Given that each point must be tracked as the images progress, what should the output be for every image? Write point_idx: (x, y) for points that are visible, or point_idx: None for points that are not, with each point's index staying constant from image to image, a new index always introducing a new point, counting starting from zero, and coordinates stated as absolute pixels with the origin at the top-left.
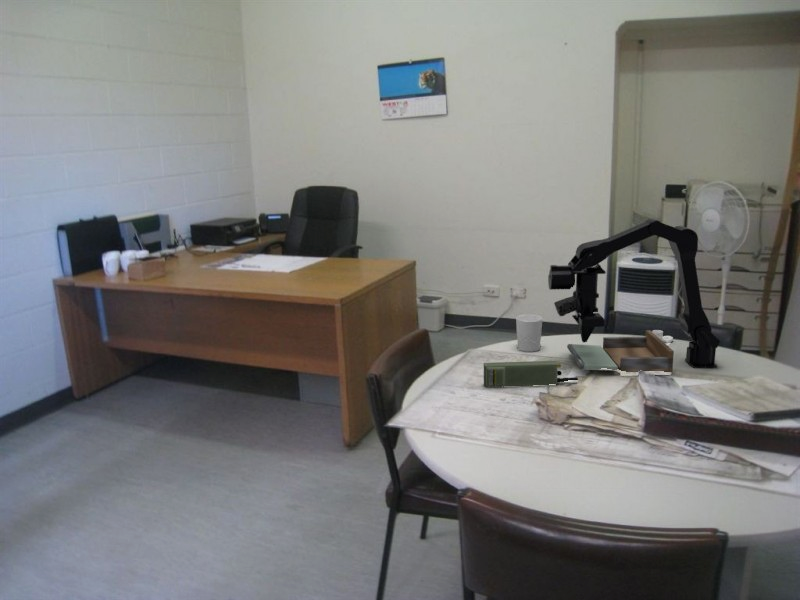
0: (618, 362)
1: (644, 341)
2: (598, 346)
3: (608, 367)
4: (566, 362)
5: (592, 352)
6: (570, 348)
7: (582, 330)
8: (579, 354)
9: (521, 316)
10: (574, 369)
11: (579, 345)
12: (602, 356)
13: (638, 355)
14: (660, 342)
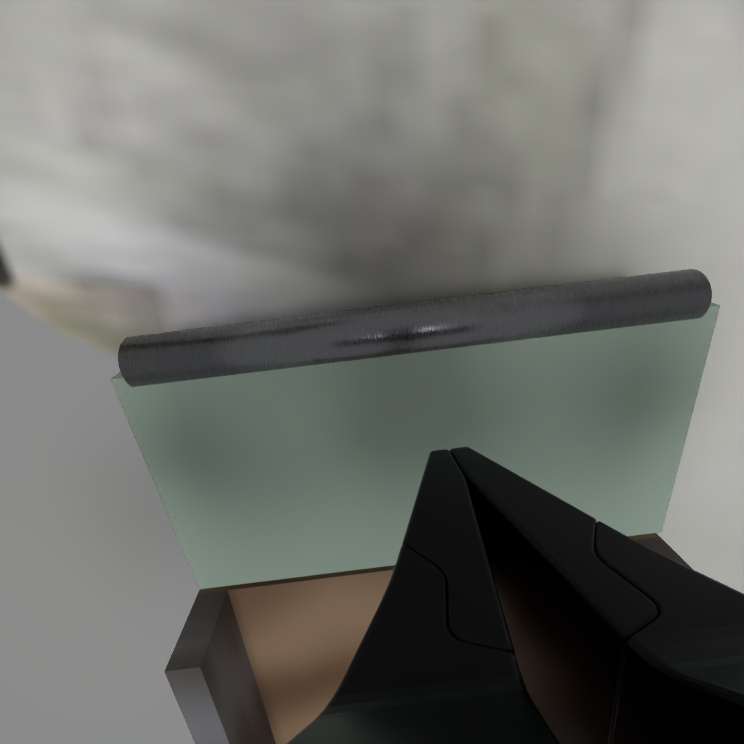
0: (335, 591)
1: None
2: (641, 518)
3: (181, 536)
4: (457, 243)
5: None
6: (587, 294)
7: (392, 596)
8: (408, 363)
9: None
10: (300, 292)
11: (670, 385)
12: (401, 524)
13: None
14: None
